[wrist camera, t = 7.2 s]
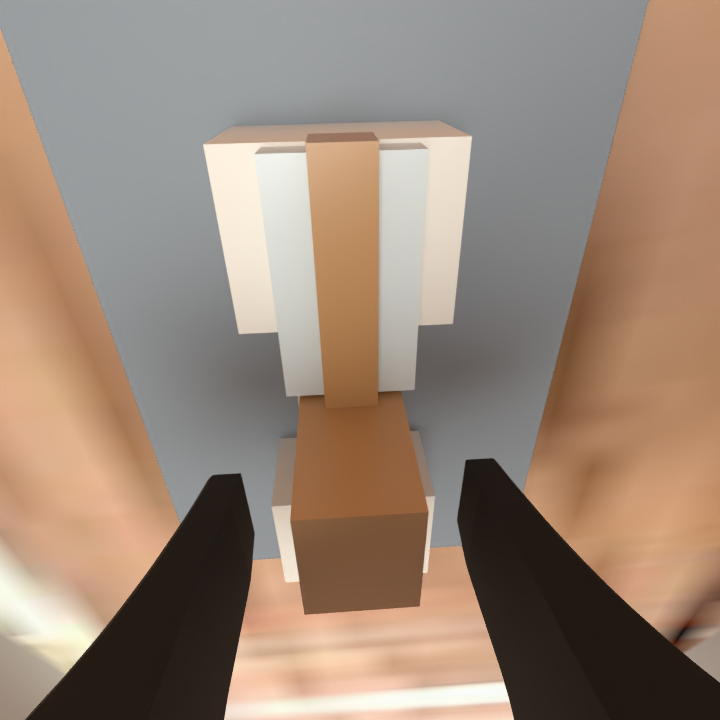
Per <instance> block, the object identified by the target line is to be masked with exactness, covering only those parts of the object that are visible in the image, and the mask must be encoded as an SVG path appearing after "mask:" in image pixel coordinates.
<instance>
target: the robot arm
mask: <svg viewBox="0 0 720 720" xmlns="http://www.w3.org/2000/svg"><path fill="white" fill-rule="evenodd" d="M457 523H458V528H459V533H460V538H461V543H462V547H463V552H464V556H465V561H466V565H467V569H468V572H469V575H470V578H471V581H472V584H473V587H474V590H475V593H476V596H477V600H478V603H479V606H480V609H481V612H482V615H483V618H484V621H485V624H486V627H487V630H488V633H489V636H490V639H491V642H492V645H493V648H494V651H495V654H496V657H497V660H498V663H499V666H500V669H501V672H502V676H503V679H504V682H505V686H506V689H507V693H508V696H509V700H510V704H511V708H512V712H513V716H514V720H720V683H719V682H718V681H717V680H716V679H715V678H713V677H712V676H711V675H709V674H708V673H707V672H705V671H704V670H703V669H702V668H701V667H699V666H698V665H697V664H696V663H694V662H693V661H692V660H691V659H690V658H688V657H687V656H686V655H685V654H684V653H683V652H681V651H680V650H679V649H678V648H677V647H676V646H674V645H673V644H672V643H671V642H670V641H669V640H667V639H666V638H665V637H664V636H663V635H661V634H660V633H659V632H658V631H657V630H656V629H655V628H654V627H652V626H651V625H650V624H649V623H648V622H647V621H646V620H645V619H644V618H642V617H641V616H640V615H639V614H638V613H637V612H636V611H635V610H634V609H632V608H631V607H630V606H629V605H628V604H627V603H626V602H625V601H624V600H623V599H622V598H621V597H620V596H619V595H618V594H617V593H616V592H615V591H613V590H612V589H611V588H610V587H609V586H608V585H607V584H606V583H605V582H604V581H603V580H602V579H601V578H600V577H599V576H598V575H597V574H596V573H595V572H594V571H593V570H592V569H591V568H590V567H589V566H588V565H587V564H586V563H585V562H584V561H583V560H582V559H581V557H580V556H579V555H578V554H577V553H576V552H575V551H574V550H573V549H572V548H571V547H570V546H569V545H568V544H567V543H566V542H565V540H564V539H563V538H562V537H561V536H560V535H559V534H558V533H557V532H556V531H555V530H554V528H553V527H552V526H551V525H550V524H549V523H548V522H547V521H546V520H545V518H544V517H543V516H542V515H541V514H540V513H539V512H538V510H537V509H536V508H535V507H534V506H533V505H532V503H531V502H530V501H529V500H528V499H527V498H526V496H525V495H524V494H523V493H522V492H521V490H520V489H519V488H518V487H517V486H516V484H515V483H514V482H513V481H512V480H511V478H510V477H509V476H508V475H507V473H506V472H505V471H504V470H503V468H502V467H501V466H500V465H499V464H498V462H497V461H496V460H495V459H494V458H485V459H469V460H466V461H465V468H464V475H463V482H462V489H461V495H460V502H459V509H458V516H457ZM254 537H255V532H254V528H253V523H252V519H251V515H250V510H249V506H248V502H247V497H246V493H245V488H244V484H243V480H242V475H241V473H236V474H219V475H212V476H211V477H210V478H209V479H208V481H207V482H206V484H205V486H204V487H203V489H202V491H201V492H200V494H199V495H198V497H197V499H196V500H195V502H194V504H193V505H192V507H191V508H190V510H189V512H188V513H187V515H186V516H185V518H184V519H183V521H182V522H181V524H180V526H179V527H178V529H177V530H176V532H175V533H174V535H173V536H172V538H171V539H170V541H169V542H168V543H167V545H166V546H165V548H164V549H163V551H162V552H161V554H160V555H159V557H158V558H157V559H156V561H155V562H154V564H153V565H152V567H151V568H150V569H149V571H148V572H147V574H146V575H145V576H144V578H143V579H142V580H141V582H140V583H139V584H138V586H137V587H136V588H135V590H134V591H133V592H132V594H131V595H130V596H129V598H128V599H127V600H126V602H125V603H124V604H123V606H122V607H121V608H120V610H119V611H118V612H117V613H116V615H115V616H114V617H113V619H112V620H111V621H110V622H109V624H108V625H107V626H106V627H105V629H104V630H103V631H102V632H101V634H100V635H99V636H98V637H97V638H96V640H95V641H94V642H93V643H92V644H91V646H90V647H89V648H88V649H87V650H86V652H85V653H84V654H83V655H82V656H81V657H80V659H79V660H78V661H77V662H76V663H75V664H74V666H73V667H72V668H71V669H70V670H69V671H68V673H67V674H66V675H65V676H64V677H63V678H62V680H61V681H60V682H59V683H58V684H57V685H56V686H55V687H54V688H53V689H52V690H51V692H50V693H49V694H48V695H47V696H46V697H45V698H44V699H43V700H42V702H41V703H40V704H39V705H38V706H37V707H36V708H35V709H34V710H33V711H32V712H31V714H30V715H29V716H28V717H27V718H26V719H25V720H224V716H225V710H226V704H227V698H228V692H229V687H230V682H231V677H232V672H233V667H234V662H235V657H236V652H237V647H238V642H239V637H240V632H241V627H242V622H243V617H244V612H245V607H246V602H247V597H248V591H249V586H250V581H251V571H252V561H253V549H254Z"/></svg>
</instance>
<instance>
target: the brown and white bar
mask: <svg viewBox="0 0 720 720" xmlns="http://www.w3.org/2000/svg"><path fill="white" fill-rule="evenodd" d="M305 144H306V146H279V147H260V148H259V149H258V150H257V151H256V153H255V154H254V155H255V162H256V170H257V178H258V185H259V193H260V200H261V208H262V215H263V223H264V231H265V238H266V246H267V253H268V261H269V268H270V276H271V284H272V291H273V299H274V306H275V314H276V321H277V329H278V337H279V344H280V352H281V359H282V367H283V374H284V382H285V390H286V397H287V396H300V402H299V415H298V428H297V440H296V453H295V465H294V478H293V490H292V503H291V515H290V524H291V530H292V536H293V543H294V549H295V556H296V562H297V569H298V575H299V581H300V588H301V594H302V601H303V607H304V614H305V615H306V614H320V613H334V612H348V611H361V610H375V609H389V608H403V607H417V606H420V597H421V586H422V576H423V566H424V556H425V545H426V535H427V525H428V515H429V511H428V507H427V502H426V498H425V494H424V489H423V485H422V480H421V476H420V472H419V467H418V463H417V459H416V454H415V450H414V446H413V441H412V437H411V433H410V428H409V424H408V419H407V415H406V411H405V406H404V402H403V398H402V393H401V391H403V390H414V389H415V372H416V355H417V338H418V321H419V304H420V287H421V270H422V254H423V237H424V220H425V203H426V186H427V169H428V152H429V149H428V148H427V147H426V146H424V145H423V144H422V143H421V142H420V143H385V144H379V140H378V138H377V137H376V136H375V134H374V133H373V132H354V133H317V134H308V135H307V139H306V143H305Z"/></svg>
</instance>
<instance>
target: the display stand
mask: <svg viewBox="0 0 720 720" xmlns="http://www.w3.org/2000/svg"><path fill="white" fill-rule="evenodd" d="M648 1H649V0H0V29H1V31H2V34H3V37H4V40H5V42H6V45H7V48H8V51H9V53H10V56H11V59H12V62H13V64H14V67H15V70H16V73H17V75H18V78H19V81H20V84H21V86H22V89H23V92H24V95H25V97H26V100H27V103H28V106H29V108H30V111H31V114H32V117H33V119H34V122H35V125H36V128H37V130H38V133H39V136H40V139H41V141H42V144H43V147H44V150H45V152H46V155H47V158H48V161H49V163H50V166H51V169H52V172H53V174H54V177H55V180H56V183H57V186H58V188H59V191H60V194H61V197H62V199H63V202H64V205H65V208H66V210H67V213H68V216H69V219H70V221H71V224H72V227H73V230H74V232H75V235H76V238H77V241H78V243H79V246H80V249H81V252H82V254H83V257H84V260H85V263H86V265H87V268H88V271H89V274H90V276H91V279H92V282H93V285H94V287H95V290H96V293H97V296H98V298H99V301H100V304H101V307H102V309H103V312H104V315H105V318H106V320H107V323H108V326H109V329H110V331H111V334H112V337H113V340H114V342H115V345H116V348H117V351H118V353H119V356H120V359H121V362H122V364H123V367H124V370H125V373H126V375H127V378H128V381H129V384H130V387H131V389H132V392H133V395H134V398H135V400H136V403H137V406H138V409H139V411H140V414H141V417H142V420H143V422H144V425H145V428H146V431H147V433H148V436H149V439H150V442H151V444H152V447H153V450H154V453H155V455H156V458H157V461H158V464H159V466H160V469H161V472H162V475H163V477H164V480H165V483H166V486H167V488H168V491H169V494H170V497H171V499H172V502H173V505H174V508H175V510H176V513H177V516H178V519H179V521H180V524H181V522H182V521H183V519H184V518H185V516H186V515H187V513H188V512H189V510H190V508H191V507H192V505H193V504H194V502H195V500H196V499H197V497H198V495H199V494H200V492H201V491H202V489H203V487H204V486H205V484H206V482H207V481H208V479H209V478H210V477H211V476H212V475H219V474H236V473H241V475H242V480H243V484H244V488H245V493H246V497H247V502H248V506H249V510H250V515H251V519H252V523H253V528H254V532H255V537H254V549H253V560H259V559H274V558H281V560H282V565H283V570H284V576H285V581H286V582H299V575H298V569H297V562H296V556H295V549H294V543H293V536H292V530H291V524H290V515H291V503H292V490H293V478H294V465H295V453H296V440H297V428H298V415H299V402H300V396H287V397H286V390H285V382H284V374H283V367H282V359H281V352H280V344H279V337H278V329H277V321H276V314H275V306H274V299H273V291H272V284H271V276H270V268H269V261H268V253H267V246H266V238H265V231H264V223H263V215H262V208H261V200H260V193H259V185H258V178H257V170H256V162H255V155H254V154H255V153H256V151H257V150H258V149H259V148H260V147H279V146H306V144H305V143H306V139H307V135H308V134H317V133H354V132H373V133H374V134H375V136H376V137H377V138H378V140H379V144H385V143H420V142H421V143H422V144H423V145H424V146H426V147H427V148H428V149H429V152H428V169H427V186H426V203H425V220H424V237H423V254H422V270H421V287H420V304H419V321H418V338H417V355H416V372H415V389H414V390H403V391H401V393H402V398H403V402H404V406H405V411H406V415H407V419H408V424H409V428H410V433H411V437H412V441H413V446H414V450H415V454H416V459H417V463H418V467H419V472H420V476H421V480H422V485H423V489H424V494H425V498H426V502H427V507H428V511H429V515H428V525H427V535H426V545H425V556H424V566H423V573H427V570H428V561H429V551H430V548H436V547H451V546H462V543H461V538H460V533H459V528H458V523H457V516H458V509H459V502H460V495H461V489H462V482H463V475H464V468H465V461H466V460H469V459H485V458H494V459H495V460H496V461H497V462H498V464H499V465H500V466H501V467H502V468H503V470H504V471H505V472H506V473H507V475H508V476H509V477H510V478H511V480H512V481H513V482H514V483H515V484H516V486H517V487H518V488H519V489H520V490H521V492H522V493H523V490H524V486H525V482H526V478H527V474H528V470H529V466H530V462H531V459H532V455H533V451H534V447H535V443H536V439H537V435H538V431H539V427H540V423H541V419H542V416H543V412H544V408H545V404H546V400H547V396H548V392H549V388H550V384H551V380H552V376H553V372H554V369H555V365H556V361H557V357H558V353H559V349H560V345H561V341H562V337H563V333H564V329H565V325H566V322H567V318H568V314H569V310H570V306H571V302H572V298H573V294H574V290H575V286H576V282H577V279H578V275H579V271H580V267H581V263H582V259H583V255H584V251H585V247H586V243H587V239H588V235H589V232H590V228H591V224H592V220H593V216H594V212H595V208H596V204H597V200H598V196H599V192H600V188H601V185H602V181H603V177H604V173H605V169H606V165H607V161H608V157H609V153H610V149H611V145H612V141H613V138H614V134H615V130H616V126H617V122H618V118H619V114H620V110H621V106H622V102H623V98H624V95H625V91H626V87H627V83H628V79H629V75H630V71H631V67H632V63H633V59H634V55H635V51H636V48H637V44H638V40H639V36H640V32H641V28H642V24H643V20H644V16H645V12H646V8H647V4H648Z"/></svg>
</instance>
